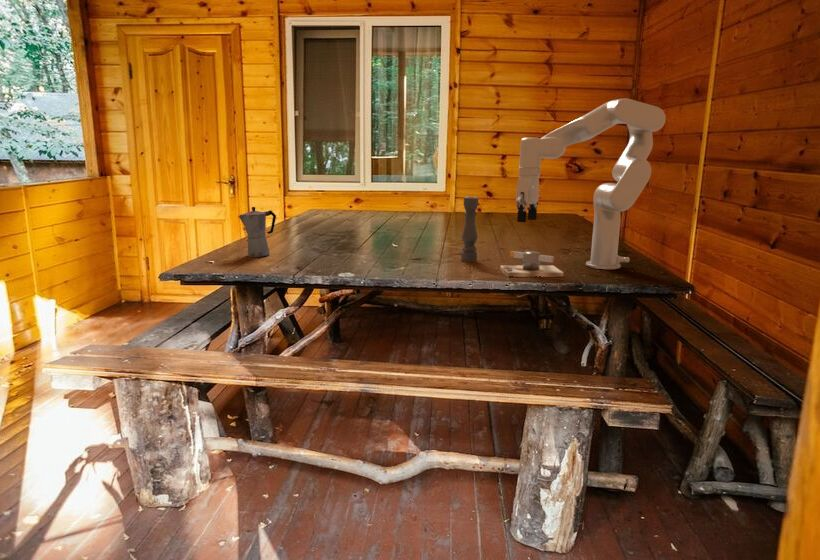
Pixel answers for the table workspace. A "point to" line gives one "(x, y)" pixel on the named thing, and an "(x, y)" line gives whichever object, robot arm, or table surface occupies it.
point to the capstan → (531, 259)
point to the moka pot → (257, 231)
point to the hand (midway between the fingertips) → (526, 220)
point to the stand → (531, 271)
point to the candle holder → (469, 230)
